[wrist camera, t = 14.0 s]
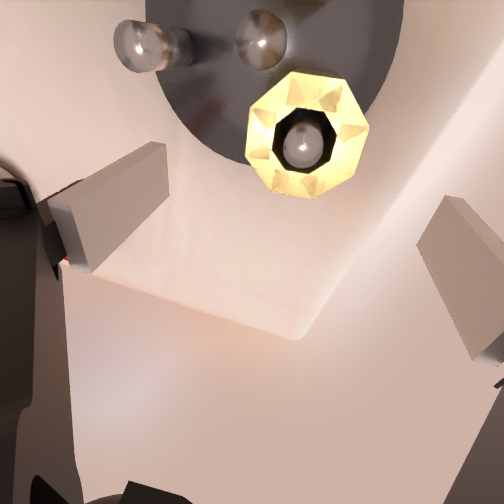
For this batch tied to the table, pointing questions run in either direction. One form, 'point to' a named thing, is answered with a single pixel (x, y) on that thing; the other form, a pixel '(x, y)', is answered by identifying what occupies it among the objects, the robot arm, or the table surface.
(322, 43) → the carrier
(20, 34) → the table surface
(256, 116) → the gear
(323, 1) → the seated gear
